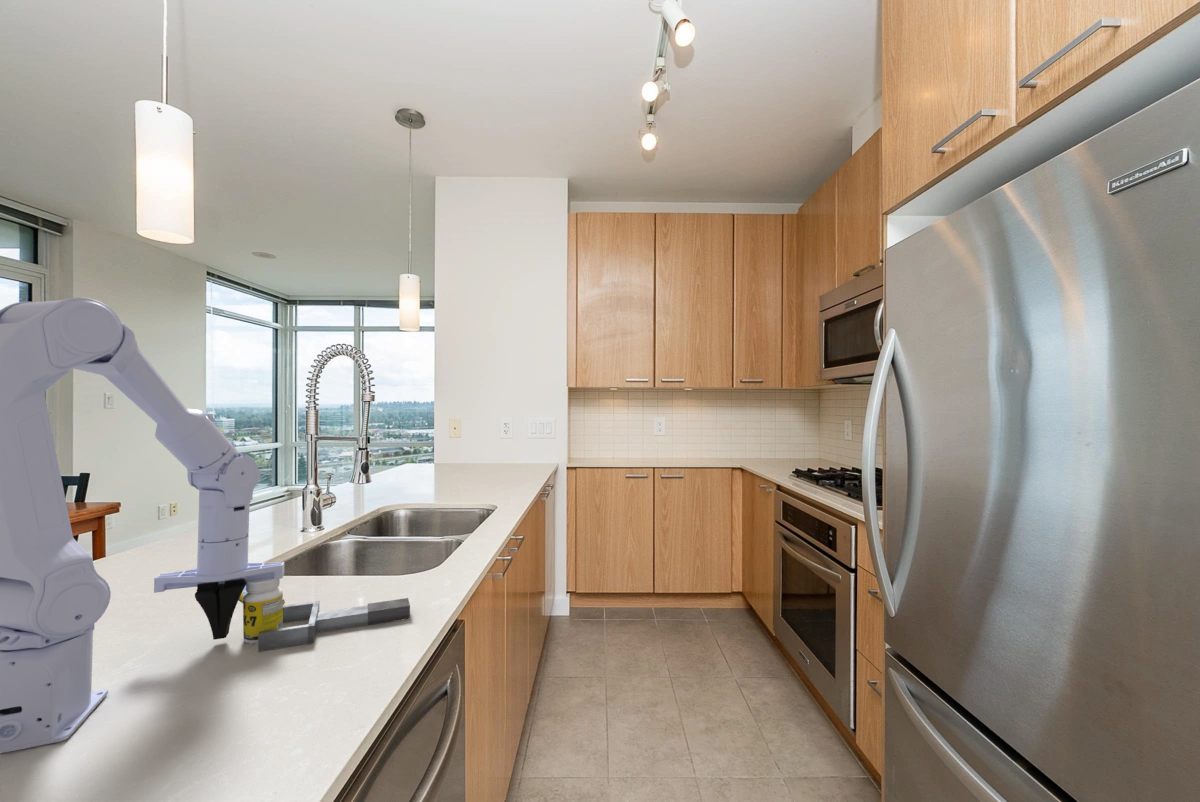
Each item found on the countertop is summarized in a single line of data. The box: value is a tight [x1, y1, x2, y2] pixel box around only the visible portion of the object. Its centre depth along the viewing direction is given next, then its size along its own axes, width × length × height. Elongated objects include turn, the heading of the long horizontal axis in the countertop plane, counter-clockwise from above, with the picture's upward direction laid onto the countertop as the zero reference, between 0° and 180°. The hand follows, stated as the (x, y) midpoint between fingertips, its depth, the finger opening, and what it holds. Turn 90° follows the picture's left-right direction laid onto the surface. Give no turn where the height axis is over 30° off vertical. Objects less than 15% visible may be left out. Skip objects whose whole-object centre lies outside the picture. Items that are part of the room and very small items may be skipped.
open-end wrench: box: [257, 597, 411, 653], centre depth 77 cm, size 10×20×2 cm, turn 115°
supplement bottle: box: [242, 578, 284, 645], centre depth 73 cm, size 5×5×8 cm
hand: (221, 636), depth 71 cm, fingers closed
